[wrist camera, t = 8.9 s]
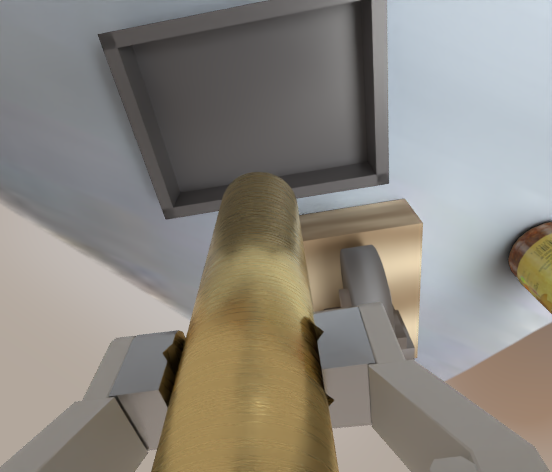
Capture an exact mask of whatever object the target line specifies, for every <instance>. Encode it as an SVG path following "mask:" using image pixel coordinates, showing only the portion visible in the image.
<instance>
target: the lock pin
mask: <svg viewBox="0 0 552 472" xmlns="http://www.w3.org/2000/svg"><path fill="white" fill-rule="evenodd" d="M313 312H314V309H313V302H312V296H311V289H310V283H309V277H308V270H307V264H306V257H305V251H304V244H303V238H302V231H301V225H300V219H299V212H298V206H297V200H296V196H295V194H294V192H293V190H292V188H291V187H290V186H289V185H288V184H287V183H286V182H285V181H284V180H283V179H281V178H280V177H278V176H276V175H273V174H270V173H266V172H252V173H247V174H244V175H242V176H240V177H238V178H237V179H235V180H234V181H233V182H232V183H231V184H230V185H229V186H228V187H227V189H226V190H225V192H224V195H223V198H222V202H221V205H220V209H219V213H218V217H217V221H216V225H215V229H214V232H213V236H212V240H211V244H210V248H209V252H208V255H207V259H206V263H205V267H204V271H203V275H202V279H201V282H200V286H199V290H198V294H197V298H196V302H195V306H194V309H193V313H192V317H191V321H190V325H189V329H188V333H187V337H186V340H185V344H184V348H183V352H182V356H181V359H180V363H179V367H178V371H177V375H176V379H175V383H174V386H173V390H172V394H171V398H170V402H169V406H168V409H167V413H166V417H165V421H164V425H163V429H162V433H161V436H160V440H159V444H158V448H157V452H156V456H155V459H154V463H153V467H152V471H151V472H339V470H338V464H337V457H336V451H335V445H334V438H333V431H332V425H331V418H330V412H329V406H328V399H327V394H326V393H325V389H324V383H323V377H322V371H321V364H320V357H319V350H318V344H317V337H316V330H315V323H314V317H313Z"/></svg>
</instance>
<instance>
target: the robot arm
mask: <svg viewBox="0 0 552 472" xmlns="http://www.w3.org/2000/svg"><path fill="white" fill-rule="evenodd" d="M313 317H314V323H315V330H316V337H317V344H318V350H319V357H320V364H321V371H322V377H323V383H324V389H325V393H326V394H327V399H328V406H329V412H330V418H331V425H332V428H340V427H352V426H364V425H372V427H373V429H374V430H375V431H376V432H377V433H378V434H379V435H380V437H381V438H382V439H383V440H384V441H385V442H386V443H387V445H388V446H389V447H390V448H391V449H392V450H393V451H394V453H395V454H396V455H397V456H398V457H399V458H400V459H401V461H402V462H403V463H404V464H405V465H406V466H407V467H408V469H409V470H410V471H411V472H550V471H549V469H548V468H547V466H546V464H545V463H544V461H543V460H542V458H541V457H540V455H539V453H538V452H537V450H536V448H535V447H534V446H533V445H532V444H530V443H529V442H527V441H526V440H525V439H523V438H522V437H520V436H519V435H518V434H516V433H515V432H513V431H512V430H511V429H509V428H508V427H506V426H505V425H504V424H502V423H501V422H499V421H498V420H497V419H495V418H494V417H493V416H491V415H490V414H488V413H487V412H485V411H484V410H483V409H481V408H480V407H479V406H477V405H476V404H474V403H473V402H472V401H470V400H469V399H468V398H466V397H465V396H463V395H462V394H461V393H459V392H458V391H456V390H455V389H454V388H452V387H451V386H449V385H448V384H447V383H445V382H444V381H443V380H441V379H440V378H438V377H437V376H436V375H434V374H433V373H431V372H430V371H429V370H427V369H426V368H424V367H423V366H422V365H420V364H419V363H417V362H416V361H415V360H413V359H412V360H405V358H404V355H403V353H402V350H401V348H400V345H399V343H398V340H397V338H396V335H395V333H394V331H393V328H392V326H391V323H390V321H389V318H388V316H387V313H386V311H385V308H384V306H383V304H382V303H381V302H375V303H368V304H362V305H357V306H350V307H343V308H337V309H330V310H323V311H316V312H313ZM185 340H186V338H185V336H184V333H183V332H182V331H170V332H161V333H152V334H143V335H137V336H130V337H120V338H116V339H115V340H114V341H112V342H111V343H110V345H109V347H108V349H107V351H106V353H105V355H104V357H103V359H102V362H101V363H100V366H99V367H98V369H97V372H96V373H95V376H94V377H93V380H92V382H91V384H90V386H89V388H88V390H87V392H86V394H85V396H84V398H83V400H82V401H78V402H74V403H73V404H72V405H71V406H70V407H69V408H67V409H66V410H65V411H64V412H63V413H62V414H61V415H59V416H58V417H57V418H56V419H55V420H54V421H53V422H52V423H50V424H49V425H48V426H47V427H46V428H45V429H43V430H42V431H41V432H40V433H39V434H38V435H36V436H35V437H34V438H33V439H32V440H31V441H30V442H28V443H27V444H26V445H25V446H24V447H23V448H22V449H20V450H19V451H18V452H17V453H16V454H15V455H14V456H12V457H11V458H10V459H9V460H8V461H7V462H6V463H4V464H3V465H2V466H1V467H0V472H135V470H136V469H137V468H138V466H139V465H140V464H141V462H142V461H143V459H144V458H145V457H146V455H147V454H148V450H155V449H157V448H158V444H159V440H160V436H161V433H162V429H163V425H164V421H165V417H166V413H167V409H168V406H169V402H170V398H171V394H172V390H173V386H174V383H175V379H176V375H177V371H178V367H179V363H180V359H181V356H182V352H183V348H184V344H185Z"/></svg>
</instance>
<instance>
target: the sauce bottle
mask: <svg viewBox="0 0 552 472" xmlns="http://www.w3.org/2000/svg"><path fill="white" fill-rule="evenodd" d="M508 262H509V266H510V269H511V271H512V272H513V273H514V275H515V276H516V277H517V278H518V279H519V282H520V283H521V284H522V285H523V286H524V287H525V288H526V289H527V290H528V291H529V292H530V293H531V294H532V295H533V296H534V297H535V298H536V299H537V300H538V301H539V302H540V303H541V304H542V305H543V306H544V307H545V308H546V309H547V310H548V311H549V312H550V313H551V314H552V222H548V223H544V224H541V225H539V226H537V227H533V228H531V229H530V230H529V231H527V232H525V233H524V234H523V235H522V236H521V237H519V238H518V239H517V241H516V242H515V244H514V245H513V247H512V249H511V251H510V254H509V258H508Z"/></svg>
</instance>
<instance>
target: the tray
mask: <svg viewBox="0 0 552 472" xmlns="http://www.w3.org/2000/svg"><path fill="white" fill-rule="evenodd" d="M98 37H99V40H100V42H101V45H102V48H103V50H104V53H105V56H106V59H107V61H108V64H109V67H110V69H111V72H112V75H113V78H114V80H115V83H116V86H117V88H118V91H119V94H120V97H121V99H122V102H123V105H124V108H125V110H126V113H127V116H128V118H129V121H130V124H131V127H132V129H133V132H134V135H135V137H136V140H137V143H138V146H139V148H140V151H141V154H142V156H143V159H144V162H145V165H146V167H147V170H148V173H149V175H150V178H151V181H152V184H153V186H154V189H155V192H156V195H157V197H158V200H159V203H160V205H161V208H162V211H163V214H164V216H165V219H172V218H178V217H184V216H190V215H197V214H203V213H209V212H215V211H219V209H220V205H221V202H222V198H223V195H224V192H225V190H226V189H227V187H228V186H229V185H230V184H231V183H232V182H233V181H234V180H235V179H237V178H238V177H240V176H242V175H244V174H247V173H252V172H266V173H270V174H273V175H276V176H278V177H280V178H281V179H283V180H284V181H285V182H286V183H287V184H288V185H289V186H290V187H291V188H292V190H293V192H294V194H295V196H296V198H302V197H309V196H315V195H321V194H327V193H333V192H340V191H346V190H352V189H358V188H365V187H371V186H377V185H383V184H389V150H388V59H387V0H268V1H263V2H258V3H253V4H248V5H243V6H238V7H233V8H228V9H223V10H218V11H213V12H208V13H203V14H198V15H193V16H188V17H183V18H177V19H172V20H167V21H162V22H157V23H152V24H147V25H142V26H137V27H132V28H127V29H122V30H117V31H112V32H107V33H102V34H98Z"/></svg>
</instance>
